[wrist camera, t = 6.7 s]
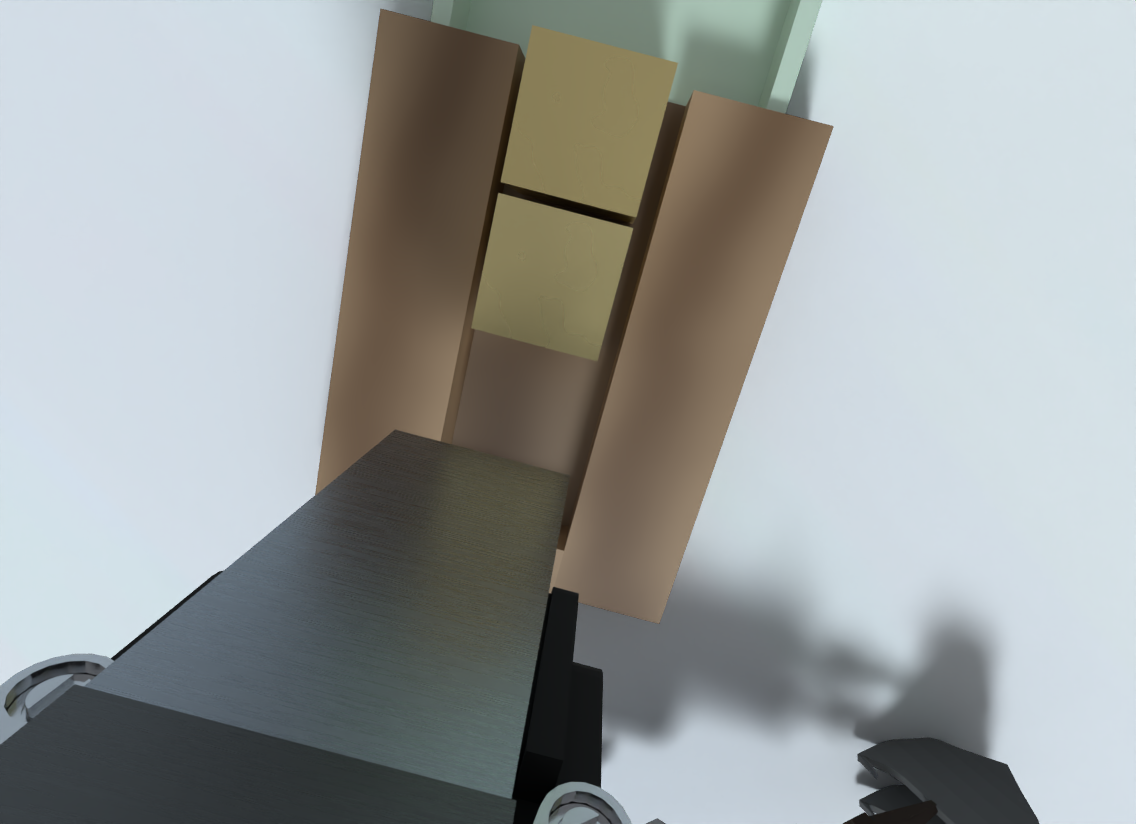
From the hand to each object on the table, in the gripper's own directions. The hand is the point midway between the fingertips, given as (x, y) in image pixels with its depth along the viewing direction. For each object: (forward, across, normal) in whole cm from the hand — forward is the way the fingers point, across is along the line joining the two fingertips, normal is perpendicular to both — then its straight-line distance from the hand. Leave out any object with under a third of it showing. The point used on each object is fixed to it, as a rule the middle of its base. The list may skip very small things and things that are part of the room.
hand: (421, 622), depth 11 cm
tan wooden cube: (+12, 0, -11) cm, 16 cm away
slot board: (+12, 0, -4) cm, 13 cm away
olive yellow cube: (+12, 0, -7) cm, 13 cm away
